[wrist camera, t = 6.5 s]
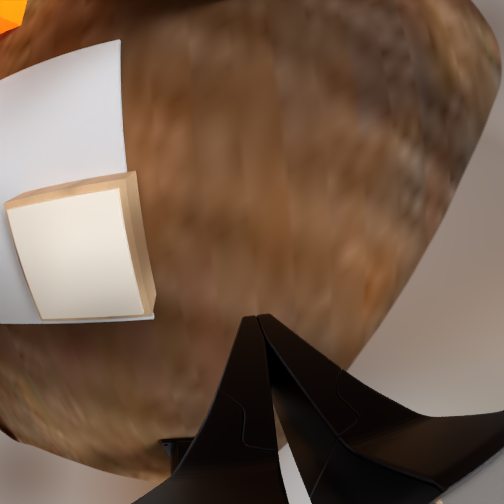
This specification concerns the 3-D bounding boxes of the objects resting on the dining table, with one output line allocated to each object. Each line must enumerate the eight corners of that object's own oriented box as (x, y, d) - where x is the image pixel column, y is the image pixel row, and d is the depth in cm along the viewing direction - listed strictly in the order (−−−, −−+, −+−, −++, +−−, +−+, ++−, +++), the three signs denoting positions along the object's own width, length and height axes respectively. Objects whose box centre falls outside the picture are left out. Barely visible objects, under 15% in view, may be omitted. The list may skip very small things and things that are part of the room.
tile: (151, 319, 16) (40, 324, 15) (156, 293, 19) (54, 300, 18) (123, 179, 13) (0, 204, 12) (135, 170, 15) (23, 192, 14)
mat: (154, 316, 20) (153, 318, 19) (-8, 321, 18) (-9, 323, 17) (120, 40, 12) (119, 39, 12) (-57, 114, 10) (-59, 114, 10)
